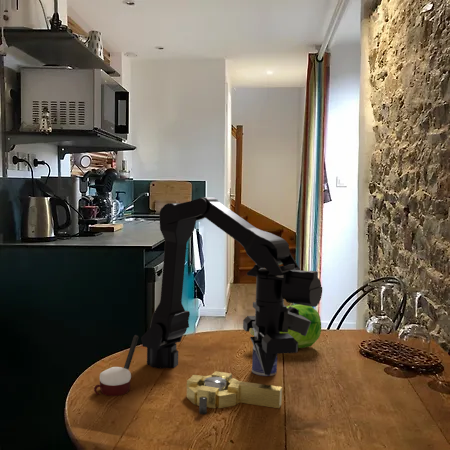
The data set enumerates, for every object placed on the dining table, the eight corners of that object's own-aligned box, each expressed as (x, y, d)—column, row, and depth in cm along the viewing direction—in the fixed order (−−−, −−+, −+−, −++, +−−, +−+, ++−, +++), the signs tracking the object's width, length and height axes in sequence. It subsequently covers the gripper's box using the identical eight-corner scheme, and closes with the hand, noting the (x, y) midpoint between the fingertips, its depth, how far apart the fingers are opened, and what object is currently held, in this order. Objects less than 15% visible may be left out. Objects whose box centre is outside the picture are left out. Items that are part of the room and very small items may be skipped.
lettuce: (241, 342, 150) (242, 300, 149) (308, 339, 155) (309, 298, 154) (257, 358, 136) (258, 312, 135) (329, 354, 141) (330, 309, 141)
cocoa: (94, 406, 105) (92, 348, 104) (93, 393, 111) (91, 338, 110) (142, 400, 108) (141, 343, 106) (139, 387, 114) (137, 333, 112)
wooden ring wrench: (179, 402, 104) (180, 385, 103) (199, 383, 114) (199, 367, 114) (274, 417, 98) (275, 399, 98) (285, 396, 108) (286, 379, 108)
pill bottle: (275, 383, 119) (276, 339, 119) (250, 380, 120) (251, 337, 120) (277, 374, 125) (279, 332, 124) (253, 372, 126) (254, 330, 125)
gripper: (325, 309, 101) (321, 389, 102) (291, 289, 119) (289, 358, 120) (268, 310, 98) (266, 392, 100) (243, 290, 117) (241, 360, 118)
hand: (267, 374), depth 109 cm, fingers closed
